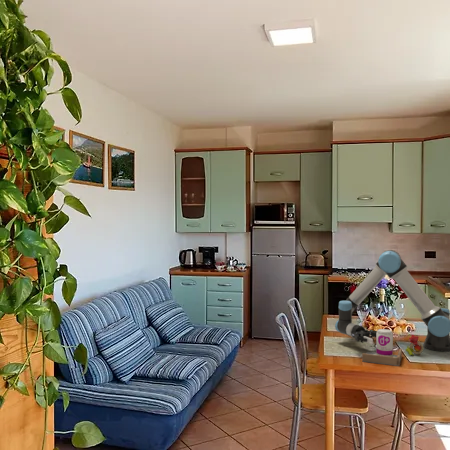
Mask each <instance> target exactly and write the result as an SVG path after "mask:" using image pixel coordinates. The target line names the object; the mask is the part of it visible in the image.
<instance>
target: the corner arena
mask: <svg viewBox="0 0 450 450" xmlns="http://www.w3.org/2000/svg"><path fill="white" fill-rule="evenodd" d="M402 353H403V350H402V348H399V349H398V353H397V354H393V357H389V356H381V355H376V352H372V351H367V352H366V353H364V352H363V353H361V355H362V357H361V359H362V363H370V364H377V365H378V364H379V365H386V366H393V367H394V366H395V367H400V365H401V360H402V356H403V355H402Z"/></svg>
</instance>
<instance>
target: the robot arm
mask: <svg viewBox="0 0 450 450" xmlns="http://www.w3.org/2000/svg"><path fill="white" fill-rule="evenodd" d="M377 260H378V261H377V262H376V263H375V267H374V268H373V269H372V270H371V271H370V272H369V273H368V275H367V276H366V277H365V278H364V279H363V280H362V281H361V283H359V285H358V286H357V287H356V288H355V290H353V292H352V293H351V294H350V295H349V296H348V297H347V298H346V300H340V301H339V302H338V320H336V322H335V325H334V328H335V330H336V331H337V332H339V333H340V334H343V335H346V336H349V337H351V339H355V340H356V342H360V343H367V344H370V345H373V344H374V339H373V338H376V333H377V331H378V330H377V331H373V330H370V331H368V330H367V329H365V327H364V326H362V325H359V324H356V323H353V322H352V321H353V319H352V318H353V317H352V316H353V312H354V311H355V310H356V309H357V307H358V306H359V305H360V304H361V303H362V302H363V301H364V300H365V299H366V298H367V297H368V296H369V294H370V293H371V292H372V291H373V290H374V289H375V288H376V286H377V285H378V284H379V283H380V282H381V281H382V280H383V279H384V278H385V277H386V276H388V278H389V279H393V280H394V281H395V282H396V284H397V285H398V286H399V288H400V289H401V290H402V291H403V292H404V294H405V296H406V297H407V298H408V299H409V300H410V303H412V305H413V306H415V308H416V310H417V311H418V312H419V313H420V316H421V317H420V319H421V320H422V322H423V323H424V324H425V325H426V327H427V329H426V330H427V332H426V333H427V334H426V336H425V340H424V342H423V347H424V348H426V349H427V350H431V351H436V352H450V309H449V308H444V307H443V308H442V307H440V306H437V305H435V304H434V302H433V301H432V300H431V299H430V297H429V296H428V295H427V294H426V292H425V291H424V290H423V289H422V288H421V286H420V285H419V284H418V282H417V281H416V280H415V279H414V277H413V276H412V275H411V273H410V272H409V271H408V266H407V264H406V263H405V261H404V260H403V259H402V257H401V254H400V253H399V252H397V250H392V249H388V250H385V251H384V252H382V253H381V254H380V255H379V258H378V259H377Z"/></svg>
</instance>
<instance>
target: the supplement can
mask: <svg viewBox="0 0 450 450" xmlns="http://www.w3.org/2000/svg"><path fill="white" fill-rule="evenodd" d="M375 338H376V339H375V340H376V341H375V343H376V346H375V347H376V349H375V351H376V352H375V353H376V355H381V356H389V357H393V355H394V353H393V352H394V349H393V348H394V344H393V343H394V334H393V331H392V330H391V329H387V328H379V329H378V328H377V333H376V337H375Z"/></svg>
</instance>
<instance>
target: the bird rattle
mask: <svg viewBox="0 0 450 450" xmlns="http://www.w3.org/2000/svg"><path fill="white" fill-rule="evenodd" d="M419 338H420V337H419V336H418V335H414V334H411V337H408V340H409V343H410V344H409V345H407V347H406V349H405V352H406V353H407V354H408V355H409V356H413V357H414V355H418V356H420V355H421V353H422V352H423V351H424V348H425V347H424V343H422V342H421V341H419Z"/></svg>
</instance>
